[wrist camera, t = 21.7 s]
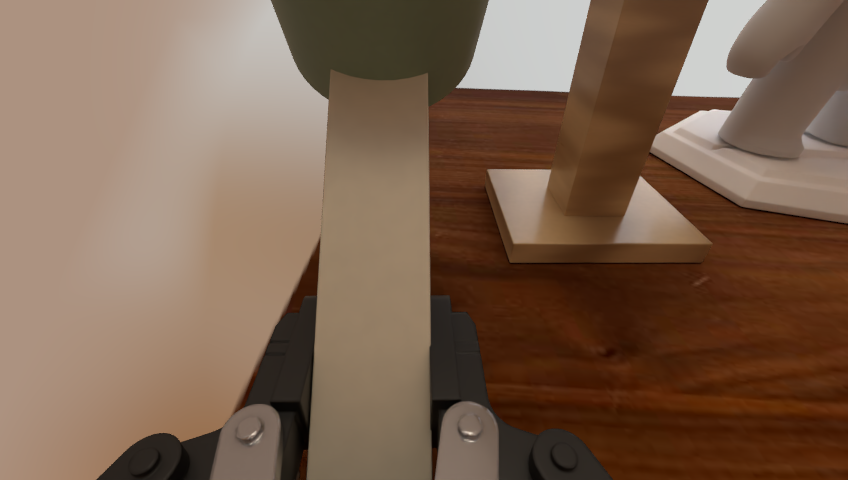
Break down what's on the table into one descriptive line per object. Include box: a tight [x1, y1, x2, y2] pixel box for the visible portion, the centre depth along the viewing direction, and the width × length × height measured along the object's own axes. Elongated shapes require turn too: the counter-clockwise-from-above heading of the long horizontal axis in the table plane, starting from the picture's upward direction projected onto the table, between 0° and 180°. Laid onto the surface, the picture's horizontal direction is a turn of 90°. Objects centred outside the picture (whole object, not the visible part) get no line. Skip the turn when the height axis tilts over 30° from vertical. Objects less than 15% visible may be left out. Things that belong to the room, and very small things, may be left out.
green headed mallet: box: [271, 0, 489, 480], centre depth 11 cm, size 7×20×5 cm
